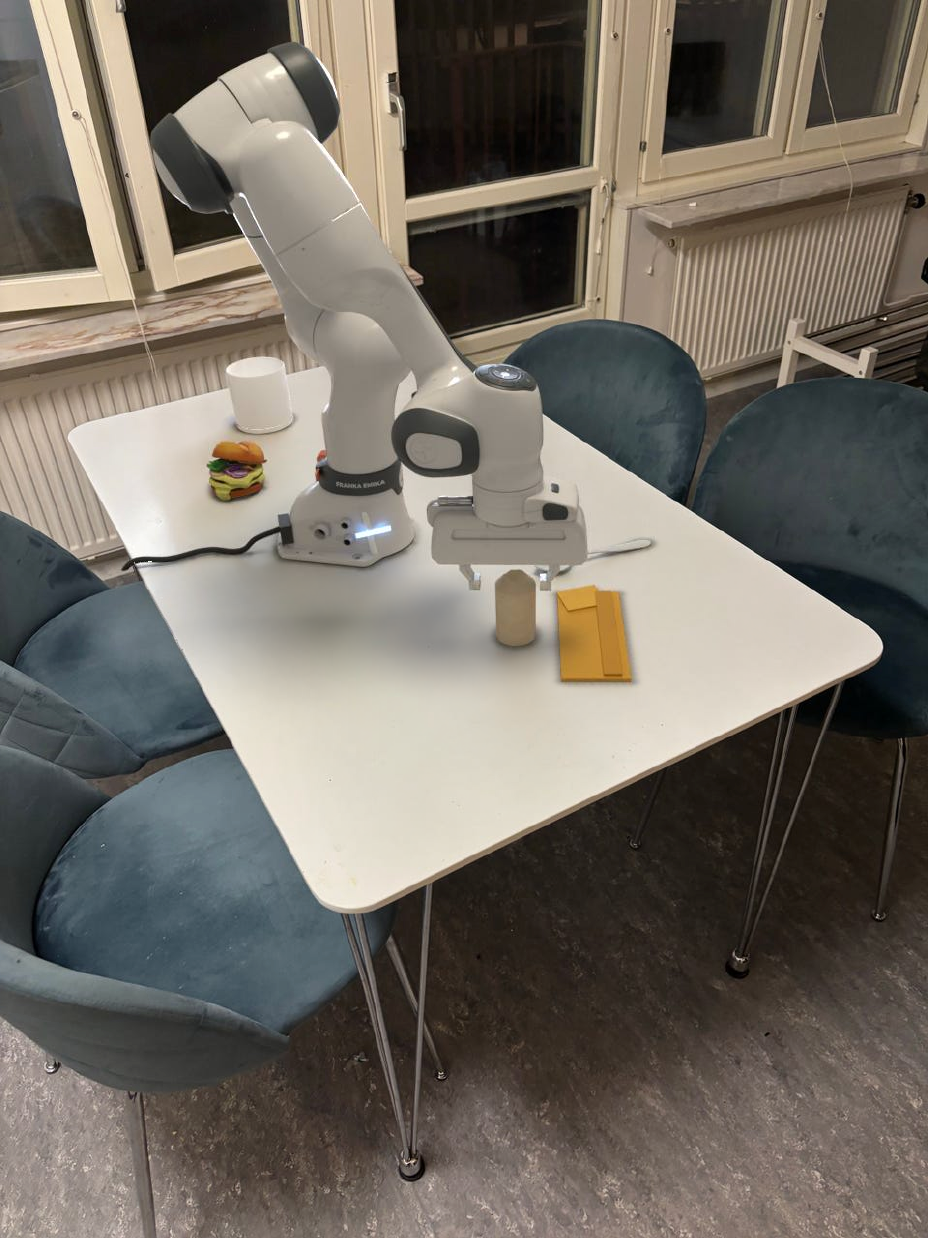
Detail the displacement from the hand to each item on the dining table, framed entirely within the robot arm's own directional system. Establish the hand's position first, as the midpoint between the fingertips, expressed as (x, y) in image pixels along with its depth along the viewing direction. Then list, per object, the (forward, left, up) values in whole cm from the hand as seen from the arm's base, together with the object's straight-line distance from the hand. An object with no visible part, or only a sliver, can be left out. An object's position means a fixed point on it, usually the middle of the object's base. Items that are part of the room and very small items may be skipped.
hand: (510, 588), depth 121 cm
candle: (+1, +1, -9) cm, 9 cm away
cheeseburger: (-50, +46, -9) cm, 69 cm away
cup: (-52, +75, -9) cm, 92 cm away
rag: (+11, +1, -8) cm, 14 cm away
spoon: (+13, +21, -9) cm, 26 cm away
